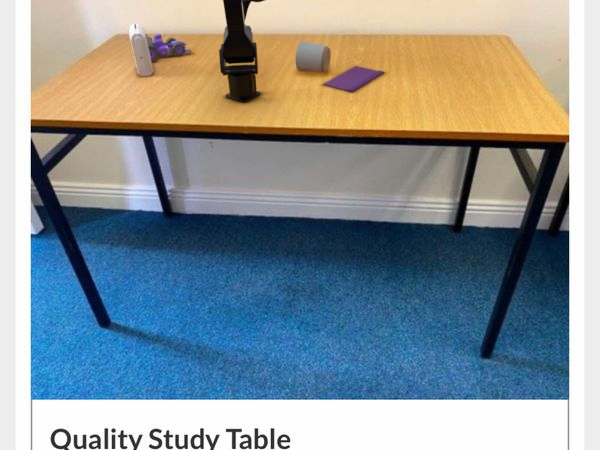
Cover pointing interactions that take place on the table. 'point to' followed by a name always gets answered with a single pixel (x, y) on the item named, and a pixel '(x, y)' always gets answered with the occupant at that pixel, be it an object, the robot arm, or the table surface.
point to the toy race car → (165, 47)
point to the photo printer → (140, 50)
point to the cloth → (353, 79)
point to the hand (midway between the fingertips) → (241, 25)
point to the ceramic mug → (312, 57)
